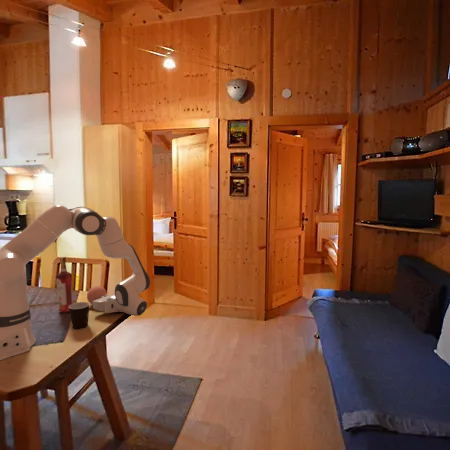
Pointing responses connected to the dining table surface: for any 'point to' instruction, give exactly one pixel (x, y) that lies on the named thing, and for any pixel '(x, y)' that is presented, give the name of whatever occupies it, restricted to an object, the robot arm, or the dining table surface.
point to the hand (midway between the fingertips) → (102, 296)
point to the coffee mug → (79, 315)
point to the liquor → (64, 287)
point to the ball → (95, 293)
